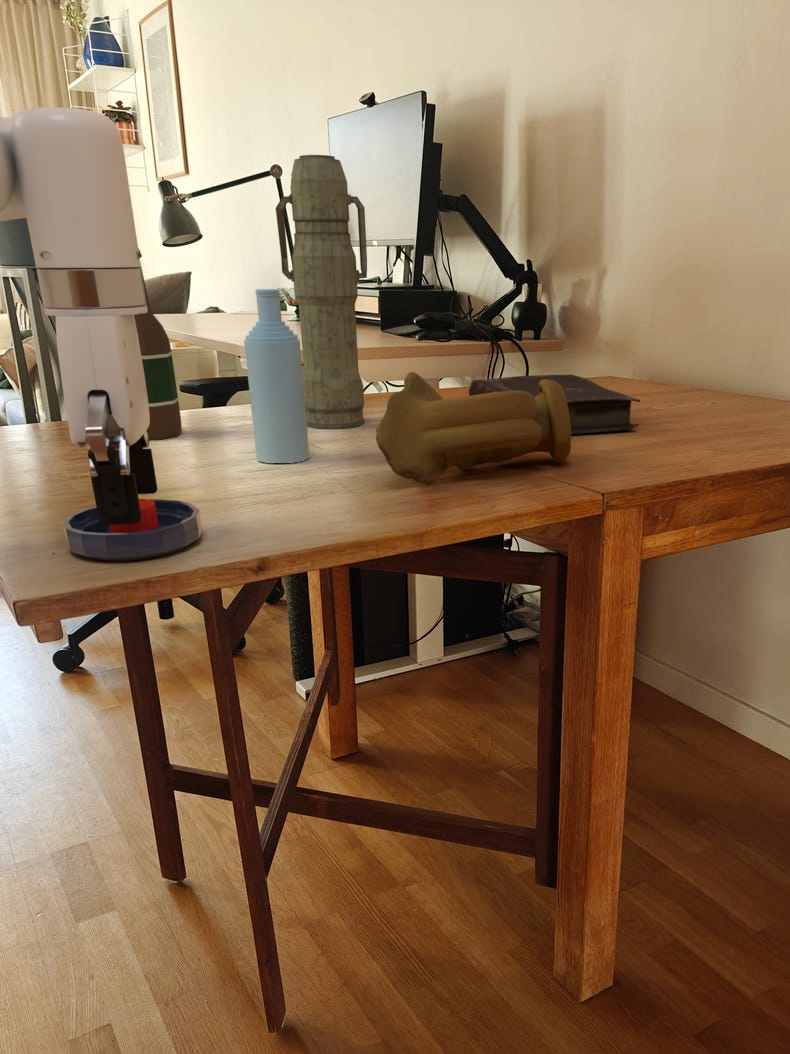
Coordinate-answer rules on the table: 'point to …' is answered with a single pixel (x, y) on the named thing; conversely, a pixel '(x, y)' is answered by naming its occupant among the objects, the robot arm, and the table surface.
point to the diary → (572, 400)
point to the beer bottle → (158, 375)
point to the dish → (133, 533)
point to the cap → (147, 521)
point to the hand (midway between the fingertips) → (130, 507)
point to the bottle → (276, 385)
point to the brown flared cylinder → (470, 428)
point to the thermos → (325, 289)
